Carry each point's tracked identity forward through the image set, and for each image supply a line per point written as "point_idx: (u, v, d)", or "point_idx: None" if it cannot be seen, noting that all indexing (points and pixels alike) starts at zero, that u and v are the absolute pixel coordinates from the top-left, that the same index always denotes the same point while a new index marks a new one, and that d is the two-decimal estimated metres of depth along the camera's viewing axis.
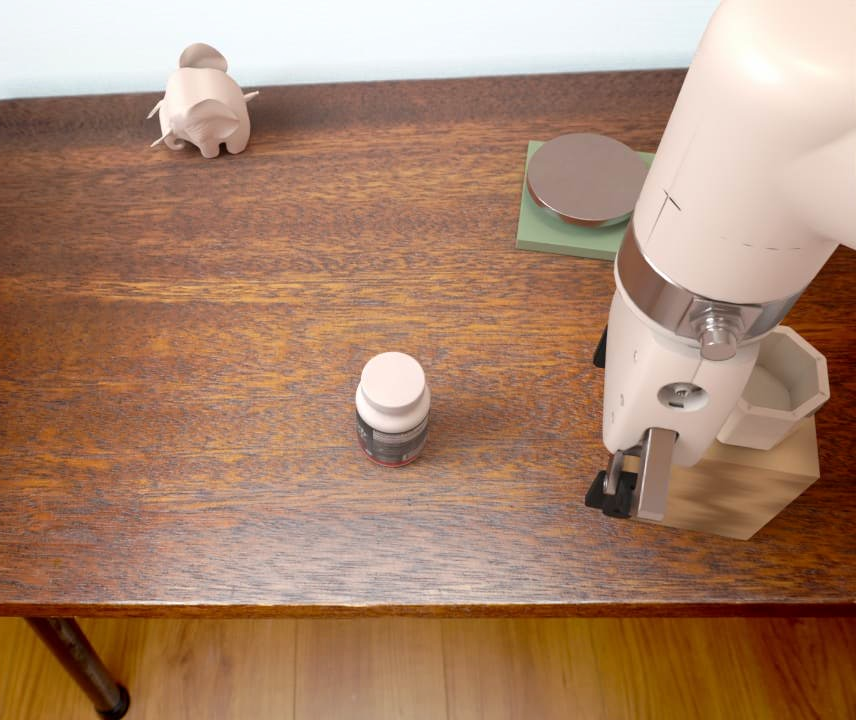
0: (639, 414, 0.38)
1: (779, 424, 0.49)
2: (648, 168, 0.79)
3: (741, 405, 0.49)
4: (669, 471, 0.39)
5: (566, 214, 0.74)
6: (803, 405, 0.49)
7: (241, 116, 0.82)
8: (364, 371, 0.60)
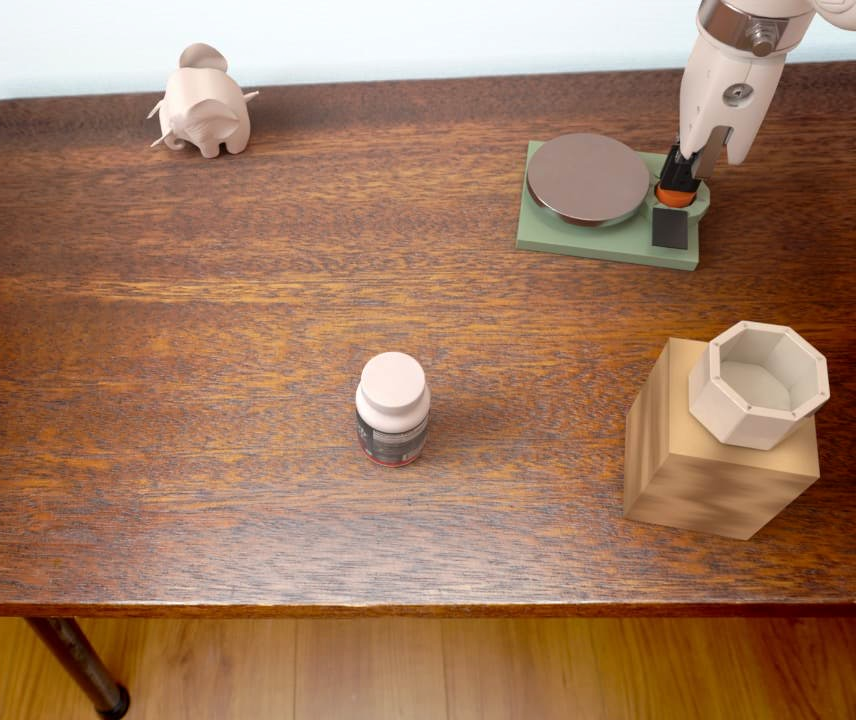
0: (709, 116, 0.62)
1: (779, 424, 0.49)
2: (648, 168, 0.79)
3: (741, 405, 0.49)
4: (717, 156, 0.65)
5: (566, 214, 0.74)
6: (803, 405, 0.49)
7: (241, 116, 0.82)
8: (364, 371, 0.60)
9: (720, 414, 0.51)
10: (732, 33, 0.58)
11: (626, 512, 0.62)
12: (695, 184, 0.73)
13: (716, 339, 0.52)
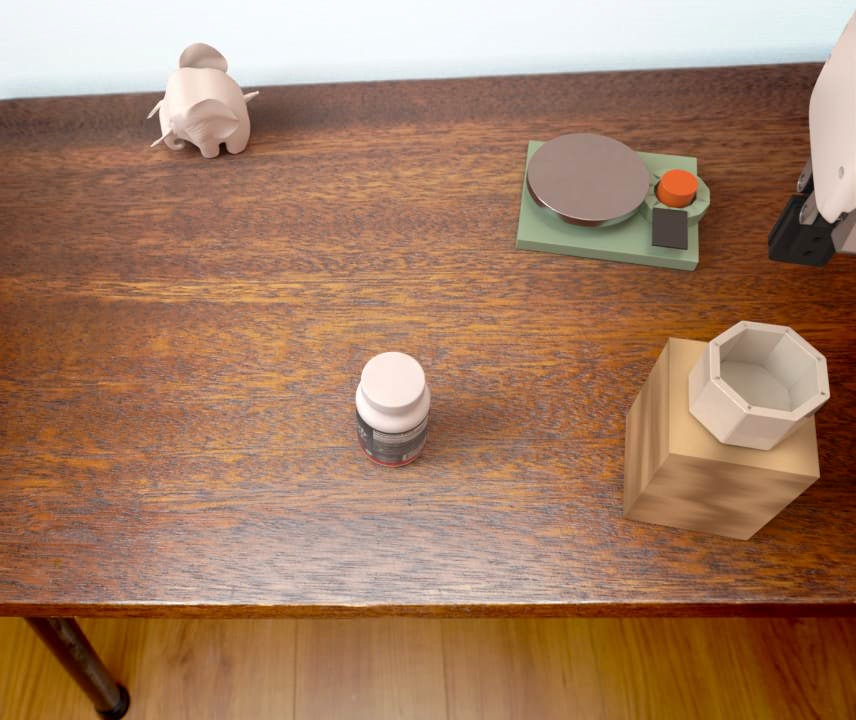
0: None
1: (779, 424, 0.49)
2: (648, 168, 0.79)
3: (741, 405, 0.49)
4: None
5: (566, 214, 0.74)
6: (803, 405, 0.49)
7: (241, 116, 0.82)
8: (364, 371, 0.60)
9: (720, 414, 0.51)
10: None
11: (626, 512, 0.62)
12: (826, 254, 0.47)
13: (716, 339, 0.52)
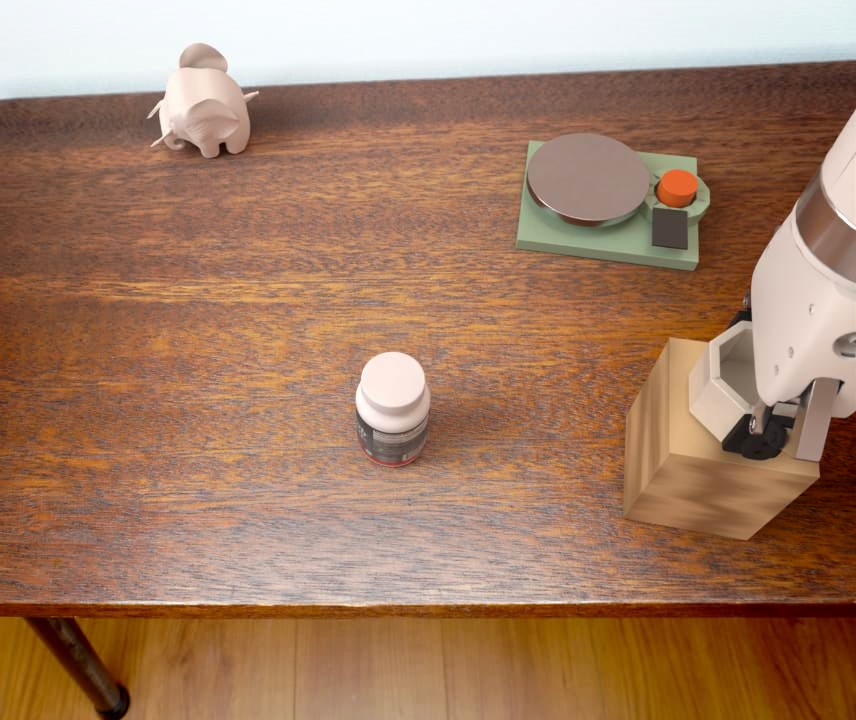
0: (809, 364, 0.41)
1: None
2: (648, 168, 0.79)
3: (741, 405, 0.49)
4: (829, 419, 0.42)
5: (566, 214, 0.74)
6: None
7: (241, 116, 0.82)
8: (364, 371, 0.60)
9: (720, 414, 0.51)
10: None
11: (626, 512, 0.62)
12: None
13: (716, 339, 0.52)
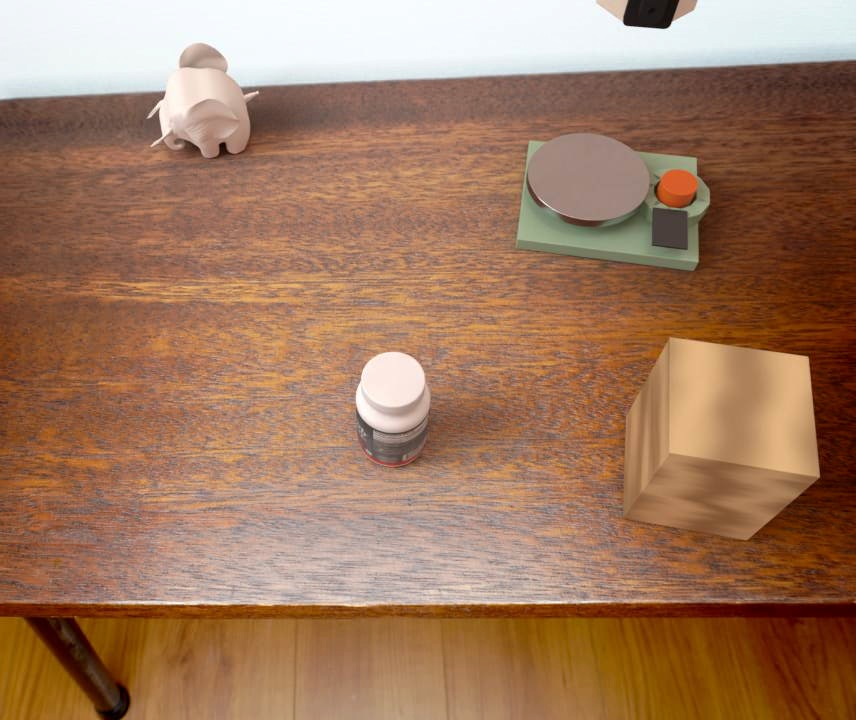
0: None
1: None
2: (648, 168, 0.79)
3: None
4: None
5: (566, 214, 0.74)
6: None
7: (241, 116, 0.82)
8: (364, 371, 0.60)
9: None
10: None
11: (626, 512, 0.62)
12: (668, 14, 0.56)
13: None
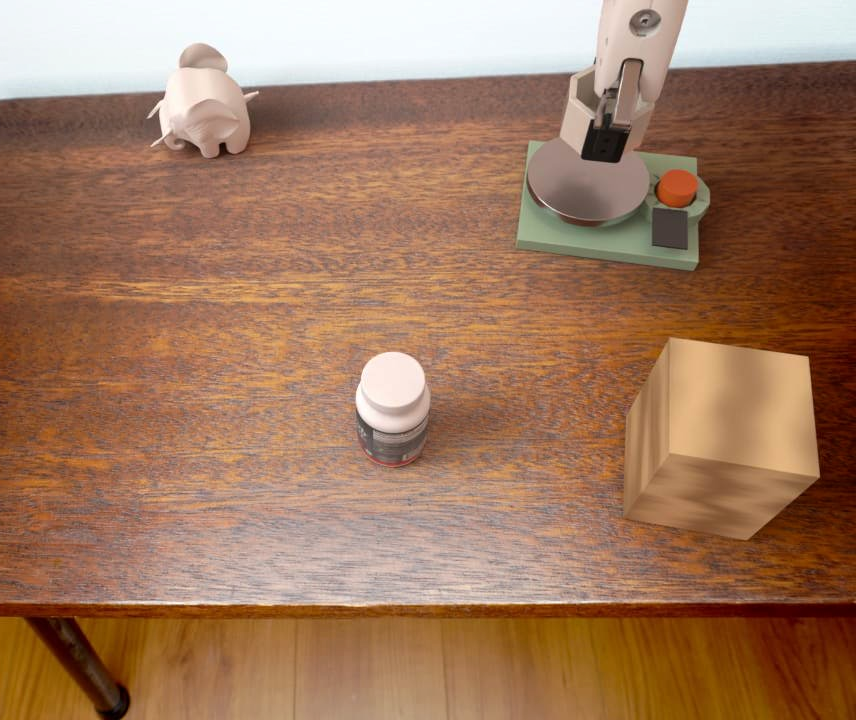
0: (617, 47, 0.59)
1: None
2: (648, 168, 0.79)
3: (589, 113, 0.67)
4: (635, 92, 0.60)
5: (566, 214, 0.74)
6: None
7: (241, 116, 0.82)
8: (364, 371, 0.60)
9: (577, 128, 0.68)
10: None
11: (626, 512, 0.62)
12: (618, 153, 0.68)
13: (576, 74, 0.69)
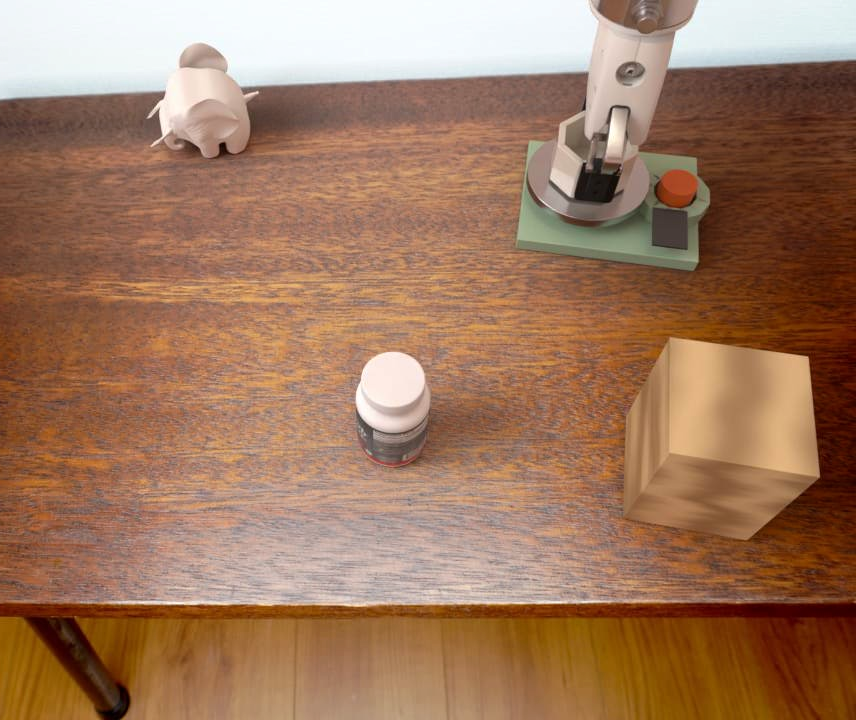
0: (605, 95, 0.62)
1: None
2: (648, 168, 0.79)
3: (577, 160, 0.71)
4: (624, 132, 0.63)
5: (566, 214, 0.74)
6: None
7: (241, 116, 0.82)
8: (364, 371, 0.60)
9: (566, 172, 0.73)
10: (619, 11, 0.58)
11: (626, 512, 0.62)
12: (609, 194, 0.70)
13: (564, 122, 0.73)
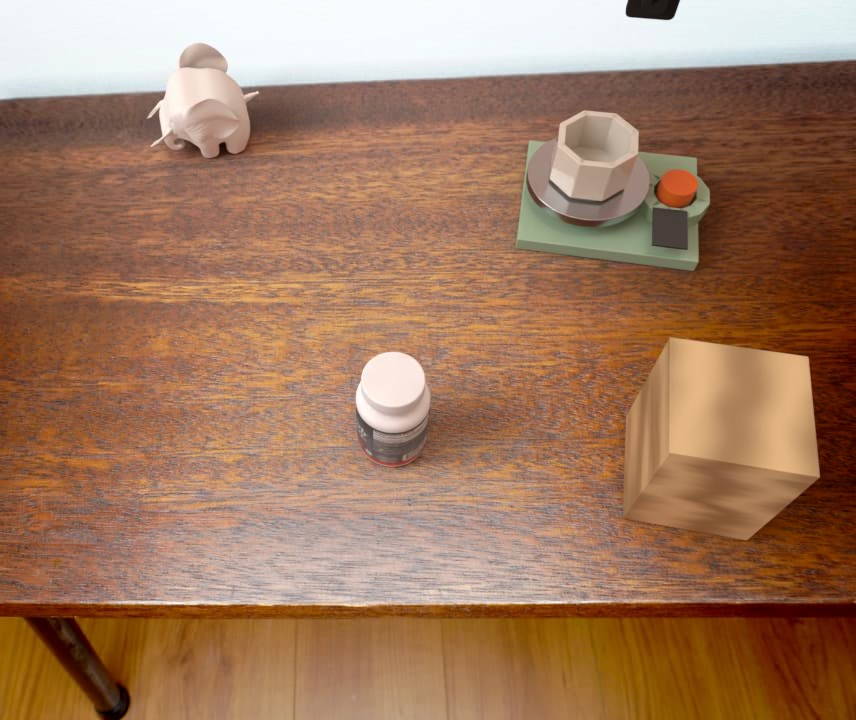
0: None
1: (603, 173, 0.71)
2: (648, 168, 0.79)
3: (577, 160, 0.71)
4: None
5: (566, 214, 0.74)
6: (619, 159, 0.71)
7: (241, 116, 0.82)
8: (364, 371, 0.60)
9: (566, 172, 0.73)
10: None
11: (626, 512, 0.62)
12: (672, 5, 0.55)
13: (564, 122, 0.73)
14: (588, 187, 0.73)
